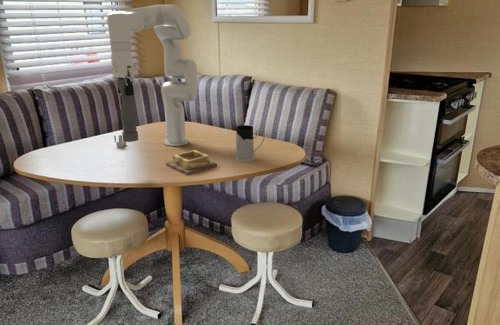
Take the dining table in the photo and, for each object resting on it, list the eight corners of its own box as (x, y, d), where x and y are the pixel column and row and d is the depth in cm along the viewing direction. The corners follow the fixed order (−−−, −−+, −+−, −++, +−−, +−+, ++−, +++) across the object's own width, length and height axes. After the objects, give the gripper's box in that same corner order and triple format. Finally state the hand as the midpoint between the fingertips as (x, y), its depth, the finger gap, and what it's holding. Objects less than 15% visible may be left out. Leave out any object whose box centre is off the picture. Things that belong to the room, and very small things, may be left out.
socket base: (166, 165, 184) (165, 155, 182) (196, 157, 194) (195, 147, 192) (186, 174, 173) (186, 164, 171) (217, 166, 183) (216, 155, 181)
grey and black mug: (233, 157, 194) (232, 125, 189) (261, 153, 199) (261, 123, 194) (239, 163, 186) (238, 130, 181) (268, 159, 191) (268, 127, 186)
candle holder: (124, 137, 174) (118, 77, 165) (139, 137, 174) (133, 77, 166) (121, 142, 168) (114, 79, 160) (137, 141, 169) (130, 79, 160)
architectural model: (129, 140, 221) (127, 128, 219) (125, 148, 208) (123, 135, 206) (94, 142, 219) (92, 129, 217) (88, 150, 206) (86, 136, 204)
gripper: (102, 46, 162) (107, 92, 168) (122, 49, 150) (127, 98, 156) (120, 45, 167) (125, 90, 173) (140, 47, 155) (145, 96, 161)
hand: (126, 93), depth 165 cm, fingers closed on candle holder, 5 cm apart
